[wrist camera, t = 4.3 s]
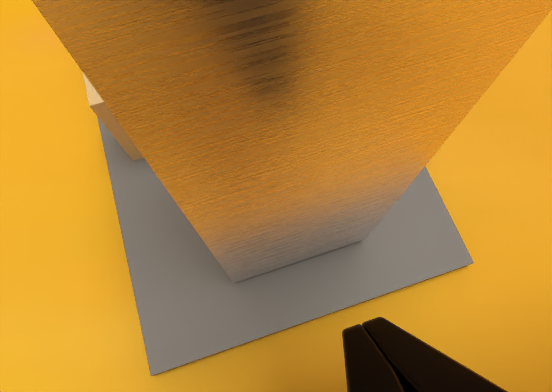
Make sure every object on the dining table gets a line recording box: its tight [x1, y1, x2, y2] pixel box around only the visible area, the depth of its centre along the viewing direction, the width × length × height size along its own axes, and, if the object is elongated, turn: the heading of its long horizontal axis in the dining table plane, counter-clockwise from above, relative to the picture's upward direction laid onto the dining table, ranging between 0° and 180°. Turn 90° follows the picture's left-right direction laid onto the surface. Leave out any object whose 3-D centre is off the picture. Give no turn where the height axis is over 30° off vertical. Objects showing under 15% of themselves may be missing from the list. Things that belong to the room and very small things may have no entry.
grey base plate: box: [83, 73, 474, 376], centre depth 15 cm, size 17×12×4 cm
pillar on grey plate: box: [32, 0, 552, 283], centre depth 9 cm, size 5×5×14 cm
